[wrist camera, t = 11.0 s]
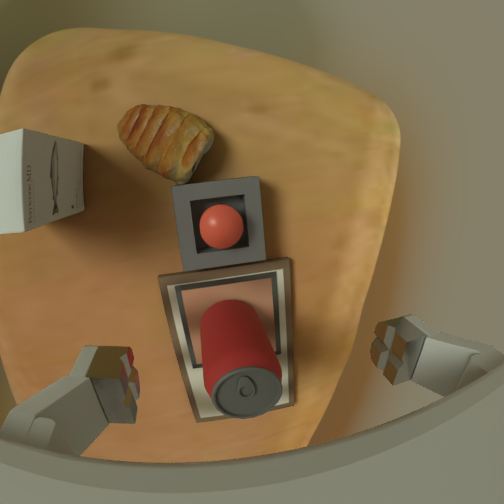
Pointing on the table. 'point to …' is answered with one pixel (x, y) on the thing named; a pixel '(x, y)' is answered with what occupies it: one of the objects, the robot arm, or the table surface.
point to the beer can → (238, 361)
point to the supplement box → (38, 179)
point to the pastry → (166, 139)
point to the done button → (221, 226)
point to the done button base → (200, 198)
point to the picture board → (227, 288)
